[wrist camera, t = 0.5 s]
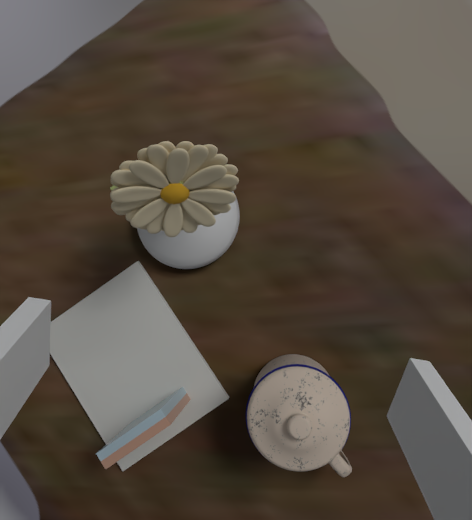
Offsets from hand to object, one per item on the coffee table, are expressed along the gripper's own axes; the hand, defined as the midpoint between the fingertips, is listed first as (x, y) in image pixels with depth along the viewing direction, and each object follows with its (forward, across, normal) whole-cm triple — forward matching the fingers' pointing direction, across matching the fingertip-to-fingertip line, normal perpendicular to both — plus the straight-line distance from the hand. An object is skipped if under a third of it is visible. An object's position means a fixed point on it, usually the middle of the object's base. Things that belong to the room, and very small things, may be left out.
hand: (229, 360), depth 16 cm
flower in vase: (+34, +3, +6) cm, 34 cm away
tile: (+24, +4, +24) cm, 34 cm away
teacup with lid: (+24, -11, +21) cm, 33 cm away
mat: (+27, +8, +21) cm, 35 cm away
